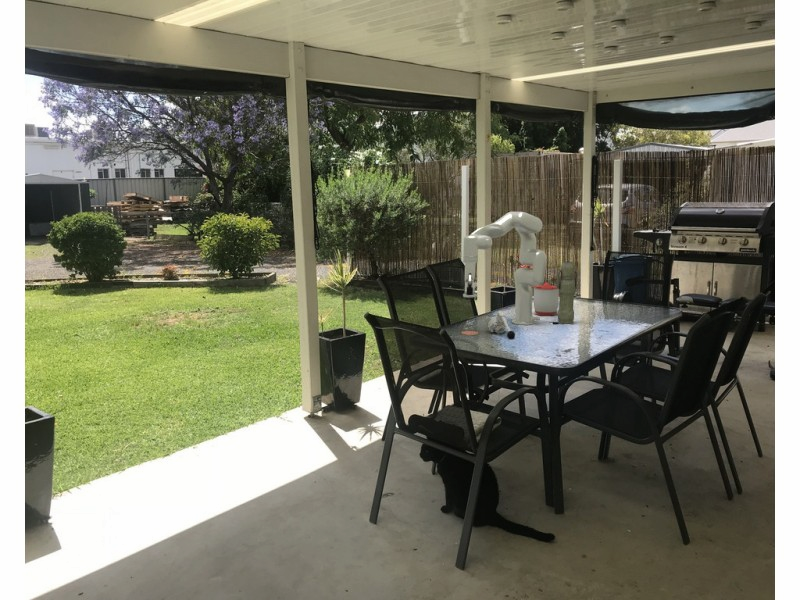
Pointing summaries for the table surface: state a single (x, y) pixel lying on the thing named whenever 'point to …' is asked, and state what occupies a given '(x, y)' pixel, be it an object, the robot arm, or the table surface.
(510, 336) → the mechanical valve
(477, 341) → the table surface
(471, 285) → the pipe coupling
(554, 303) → the citrus juicer
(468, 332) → the gasket pad
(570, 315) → the stone statue
